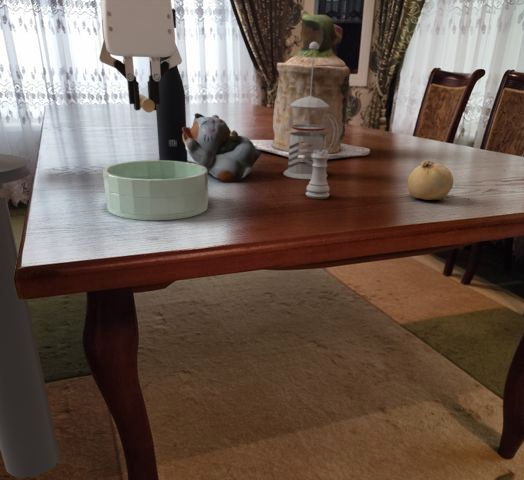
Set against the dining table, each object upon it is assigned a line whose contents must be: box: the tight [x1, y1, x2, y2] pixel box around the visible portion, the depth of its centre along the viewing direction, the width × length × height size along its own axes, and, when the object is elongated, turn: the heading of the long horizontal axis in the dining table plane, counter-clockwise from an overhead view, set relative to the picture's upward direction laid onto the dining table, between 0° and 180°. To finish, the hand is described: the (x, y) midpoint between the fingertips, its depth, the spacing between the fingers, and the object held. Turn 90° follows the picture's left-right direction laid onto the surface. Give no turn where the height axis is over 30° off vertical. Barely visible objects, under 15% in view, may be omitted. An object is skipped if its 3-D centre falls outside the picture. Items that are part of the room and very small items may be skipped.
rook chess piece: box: [305, 150, 330, 200], centre depth 95 cm, size 4×4×8 cm
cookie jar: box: [249, 10, 371, 161], centre depth 132 cm, size 25×25×32 cm
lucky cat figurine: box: [182, 112, 262, 183], centre depth 108 cm, size 15×12×14 cm
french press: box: [282, 42, 339, 180], centre depth 108 cm, size 10×12×25 cm
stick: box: [139, 93, 155, 114], centre depth 81 cm, size 10×2×2 cm
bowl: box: [102, 159, 209, 221], centre depth 86 cm, size 16×16×6 cm
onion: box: [407, 159, 454, 201], centre depth 96 cm, size 8×8×7 cm
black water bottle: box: [155, 8, 189, 162], centre depth 114 cm, size 6×6×30 cm
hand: (145, 108), depth 82 cm, fingers closed on stick, 1 cm apart
